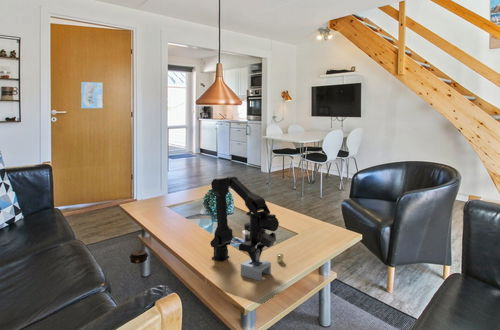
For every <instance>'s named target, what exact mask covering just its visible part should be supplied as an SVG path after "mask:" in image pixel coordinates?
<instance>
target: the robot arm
mask: <svg viewBox="0 0 500 330" xmlns="http://www.w3.org/2000/svg"><path fill="white" fill-rule="evenodd" d="M210 185H211V192H212V193H213V195H214V196H215V203H216V204H215V206H216V208H215V209H216V223H217V225H216V229H215V231H214V237H213V238H212V239H211V241H210V242H209V243H210V247H212V248H213V256H212V257H211V259H213V260H216V261H221V262H222V261H225V260H227V259H228V258H230V255H229V249H228V246H230V245H231V241H232V240H233V237H234V236H233V229H232V228H230V227H229V225H228V206H227V195H228V192H229V190H230V188H231V189H232V190H233V191H234V192H235V193H236V195H238V196H239V197H240V198H241V199H242V200H243V201H244V204H245V207H246V209H248V211H247V212H246V216H249V223H250V228H249V229H248V231H249V232H250V238H248V241H245V240H244V241H243V242H241V243H239V244H238V250H239V251H242V252H246V253H247V254H248V255H249V257H250V258H249V259H251V260H252V262H253V263H255V261H256V252H257V251H258V250H259V249H258V248H257V247H259V248H260V257H262V256H261V255H262V253H263V250H264V248H270V247H272V246H274V243H275V242H276V241H277V238H276V237H277V235H276V233H275V232H276V231H277V230H278V228H279V227H280V225H279V224H280V222H279V219H278V218H277V217H276V214H274V213H273V214H271V211H270V209H269V208H268V205H267V203H266V200H265V198H263V197H262V196H260V195H258V194H255V193H254V192H252V191H251V190H250V189H249V188H248V187H247V186H245V185H244V184H243V183H242V182H241V181H240V180H239V179H238V177H236V176H227V177H221V178H213V180H212V181H211V183H210ZM266 231H270V232H271V233H267V232H266Z"/></svg>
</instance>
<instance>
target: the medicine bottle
mask: <svg viewBox="0 0 500 330" xmlns="http://www.w3.org/2000/svg"><path fill="white" fill-rule="evenodd" d="M243 228H244V230H242V231H241V237H242V239H243V240H244V242H245V241H246V242H249V241H248V238H250V232H249V231H248V229H249V228H250V222H246V223H244V227H243Z"/></svg>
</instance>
